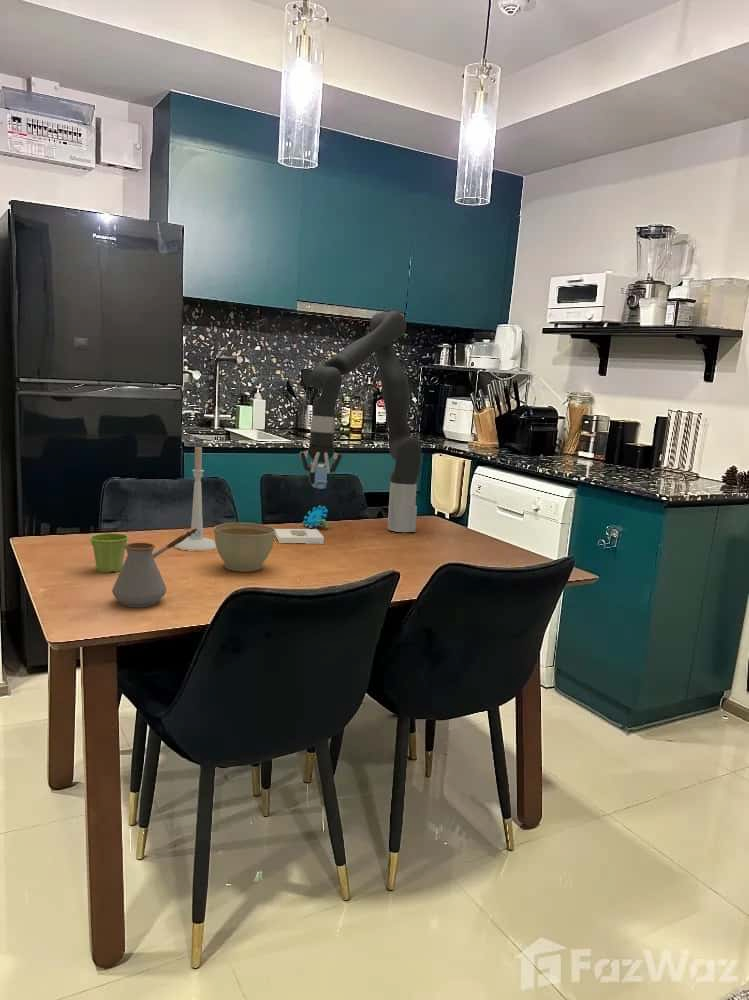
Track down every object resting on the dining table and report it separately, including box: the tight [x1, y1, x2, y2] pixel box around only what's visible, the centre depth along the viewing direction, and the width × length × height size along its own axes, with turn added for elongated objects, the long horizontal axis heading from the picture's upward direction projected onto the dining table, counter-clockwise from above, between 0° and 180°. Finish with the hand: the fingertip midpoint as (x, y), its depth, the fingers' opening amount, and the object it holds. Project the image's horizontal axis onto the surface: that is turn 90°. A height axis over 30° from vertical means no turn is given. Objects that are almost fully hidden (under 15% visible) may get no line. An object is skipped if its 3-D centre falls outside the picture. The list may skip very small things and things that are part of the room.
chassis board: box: [274, 528, 325, 545], centre depth 236 cm, size 14×13×2 cm
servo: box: [311, 463, 328, 490], centre depth 234 cm, size 4×9×7 cm, turn 14°
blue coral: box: [302, 504, 329, 529], centre depth 257 cm, size 11×6×10 cm
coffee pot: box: [111, 528, 200, 608], centre depth 166 cm, size 21×12×15 cm, turn 140°
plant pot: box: [89, 532, 129, 573], centre depth 187 cm, size 9×9×9 cm
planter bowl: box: [213, 522, 276, 573], centre depth 196 cm, size 16×16×11 cm
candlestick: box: [175, 445, 216, 550], centre depth 216 cm, size 13×13×30 cm
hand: (318, 484), depth 235 cm, fingers closed on servo, 3 cm apart
